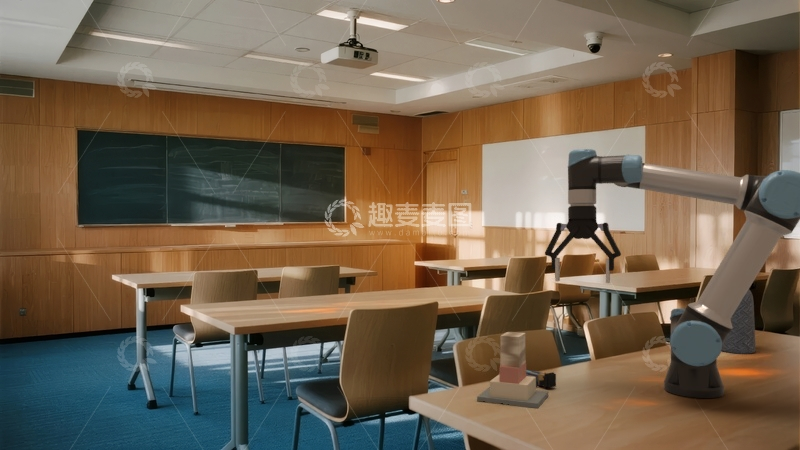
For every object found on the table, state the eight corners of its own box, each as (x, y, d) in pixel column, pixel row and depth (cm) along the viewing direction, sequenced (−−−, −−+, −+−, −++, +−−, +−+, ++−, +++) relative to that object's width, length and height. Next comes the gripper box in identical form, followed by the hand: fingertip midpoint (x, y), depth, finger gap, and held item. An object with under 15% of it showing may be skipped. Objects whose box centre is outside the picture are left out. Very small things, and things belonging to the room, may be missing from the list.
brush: (520, 363, 193) (559, 372, 181) (520, 378, 193) (559, 388, 181) (507, 366, 190) (546, 375, 177) (507, 381, 190) (546, 391, 177)
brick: (525, 362, 172) (525, 333, 172) (519, 367, 165) (519, 337, 165) (507, 360, 174) (507, 331, 174) (500, 365, 168) (500, 335, 168)
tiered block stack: (548, 396, 172) (548, 362, 172) (537, 408, 160) (537, 372, 160) (491, 389, 179) (491, 357, 179) (477, 401, 167) (477, 366, 167)
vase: (762, 354, 229) (762, 276, 229) (728, 354, 229) (728, 276, 229) (744, 348, 241) (744, 273, 241) (712, 348, 241) (712, 273, 241)
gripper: (630, 205, 174) (631, 282, 174) (540, 206, 185) (540, 279, 184) (628, 204, 167) (628, 284, 167) (534, 205, 178) (534, 281, 178)
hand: (582, 282), depth 176 cm, fingers open, 13 cm apart
